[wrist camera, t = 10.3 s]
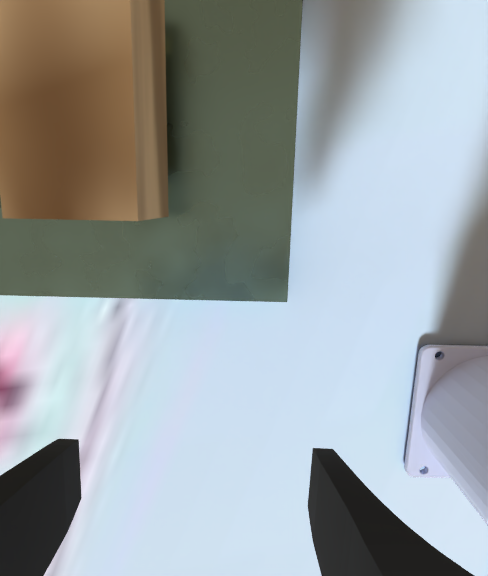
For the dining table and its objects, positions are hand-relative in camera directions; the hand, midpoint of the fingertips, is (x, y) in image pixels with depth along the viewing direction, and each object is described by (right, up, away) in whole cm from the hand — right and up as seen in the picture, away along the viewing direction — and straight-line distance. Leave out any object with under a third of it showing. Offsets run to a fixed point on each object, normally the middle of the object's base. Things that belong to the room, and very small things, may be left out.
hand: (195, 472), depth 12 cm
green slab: (-4, +14, +7) cm, 16 cm away
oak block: (-4, +13, +4) cm, 14 cm away
